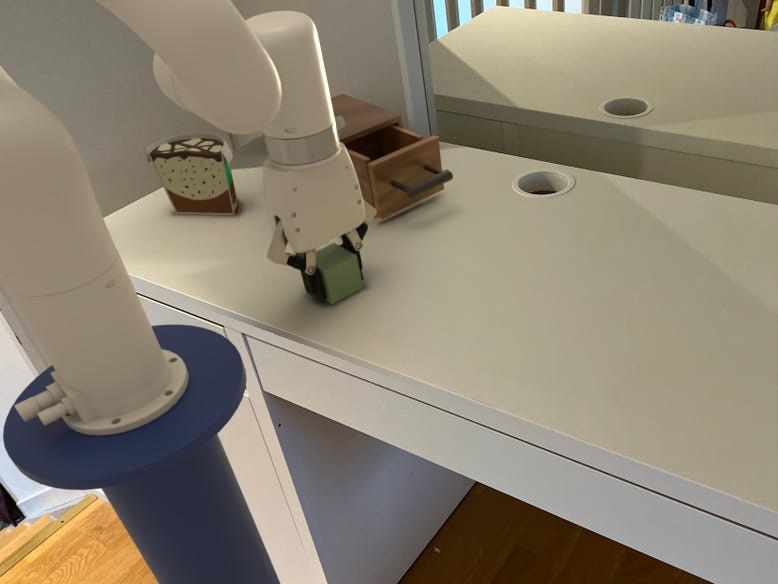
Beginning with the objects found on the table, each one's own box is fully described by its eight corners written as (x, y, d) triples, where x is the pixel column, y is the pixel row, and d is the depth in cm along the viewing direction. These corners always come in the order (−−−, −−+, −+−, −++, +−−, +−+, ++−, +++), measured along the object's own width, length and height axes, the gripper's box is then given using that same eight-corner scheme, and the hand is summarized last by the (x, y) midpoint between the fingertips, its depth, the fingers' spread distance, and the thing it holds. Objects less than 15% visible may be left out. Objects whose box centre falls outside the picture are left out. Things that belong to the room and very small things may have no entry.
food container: (261, 195, 110) (243, 131, 104) (244, 215, 106) (224, 149, 99) (186, 193, 112) (164, 130, 106) (166, 213, 108) (142, 148, 101)
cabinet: (410, 177, 112) (401, 114, 105) (342, 208, 105) (329, 144, 99) (353, 152, 120) (342, 93, 114) (288, 179, 114) (272, 119, 108)
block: (332, 304, 87) (324, 271, 84) (310, 290, 89) (302, 257, 86) (363, 287, 89) (356, 255, 86) (341, 274, 92) (334, 242, 89)
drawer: (467, 199, 103) (463, 146, 98) (404, 231, 97) (396, 176, 92) (386, 164, 114) (378, 114, 109) (325, 191, 108) (314, 140, 103)
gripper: (347, 109, 84) (373, 248, 95) (212, 160, 75) (259, 305, 87) (387, 124, 79) (409, 268, 91) (249, 180, 71) (293, 331, 82)
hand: (336, 285), depth 89 cm, fingers closed on block, 4 cm apart
